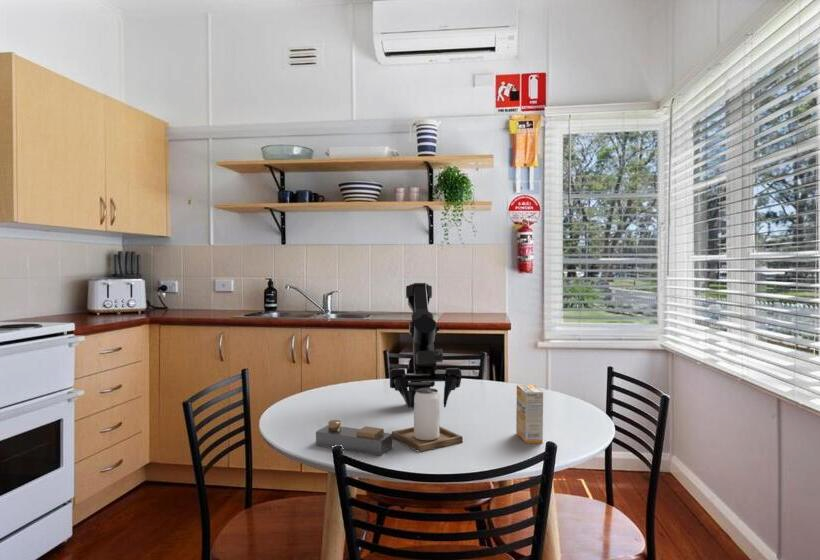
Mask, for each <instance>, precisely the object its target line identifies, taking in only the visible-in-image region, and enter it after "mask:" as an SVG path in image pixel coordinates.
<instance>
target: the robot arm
mask: <svg viewBox="0 0 820 560" xmlns="http://www.w3.org/2000/svg"><path fill="white" fill-rule="evenodd" d="M432 297H433V286H432V285H430V284H429V283H426V282H414V283H411V284H409V285H406V286H405V299H407V305H408V307H409V308H410V309H411V311H412V314H411V321H409V322H408V324H409V325H408V330H409V331H408V332H409V333H408V334H409V335H411V338H412V350H413V351H412V356H411V357H410V359H409V361H408V367H406V369H405V368H391V369H390V370H389V388H391V389H394V391H396V392H397V391H398V392H399V394H400V395H401V397H402V398H403V401H404V402H405V404H406V407H407V408H408V409H409V408H410V406H411V407H413V408H414V396H415V394H416V390H417V389H420V388H434V387H435V386H436V382H439V383H440V382H441V383H442V382H444V388H443V408H446V407H447V403H448V400H449V396H450V394H451V392H452V391H455V390H456V389H458V388H460V387H461V383H462V375H463V373H462V370H461V369H460V368H459V367H454V368H453V367H451V368H450V367H448V368H445V371H444V373H437V372H436V371H437V367H438V366H437V363H442V362H443V361H444V357H443V356H444V354H443V348H435V346H434V342H435V337H436V334H438V332H439V331H440V325H438V324H437V322H436V321H435V320H434V314H433V313H432V312H430V311H429V304H430V299H432Z"/></svg>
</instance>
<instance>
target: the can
mask: <svg viewBox="0 0 820 560" xmlns="http://www.w3.org/2000/svg"><path fill="white" fill-rule="evenodd" d="M439 426H440V394H439V390H438V389H436V388H434V387H430V388H420V389H417V390H416V394H415V396H414V407H413V427H414V437H415V438H416V439H418V440H421V441H433V440H436V439H437V438H438V437H439Z"/></svg>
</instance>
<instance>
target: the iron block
mask: <svg viewBox="0 0 820 560" xmlns="http://www.w3.org/2000/svg"><path fill="white" fill-rule="evenodd" d="M341 425H342V423H341V420H339V419H332V420H329V421H328V424H327V425H326V426H323V427H322V428H320V429H317V430H316V431H315V446H317V447H322V448H329V449H333V448H332V446H335V445H342V446H343V448H344V450H343V451H347V452H348V451H349V452H353V451H355V452H354V453H359V452H361V453H360V454H367V455H371V454H372V456H379V457H382V456H384V455H385V454H386V453H388V452H389V451H390V450H392V449H393V438H392V432H391V433H390V432H385V431H384V428H380V427H374V426H368V425H367V426H366V425H365V426H364V427H362V428H355V427H347V426H341ZM387 451H388V452H387ZM384 453H385V454H384ZM383 454H384V455H383Z"/></svg>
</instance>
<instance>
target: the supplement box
mask: <svg viewBox="0 0 820 560" xmlns="http://www.w3.org/2000/svg"><path fill="white" fill-rule="evenodd" d="M515 417H516V420H515V421H516V424H515V425H516V427H515V430H516V434H517V436H519V437H520V439H522V441H523V442H524V443H525V444H542V443H543V442H544V441H543V440H544V439H543V435H544V432H543V431H544V428H543V427H544V391H542V390H541V389H540V388H539V387H537V386H536V385H534V384H516V416H515Z"/></svg>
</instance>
